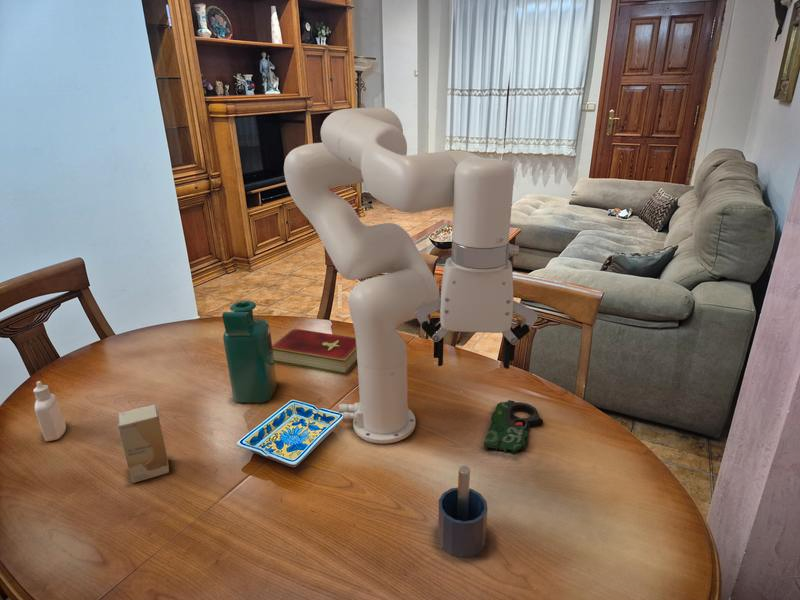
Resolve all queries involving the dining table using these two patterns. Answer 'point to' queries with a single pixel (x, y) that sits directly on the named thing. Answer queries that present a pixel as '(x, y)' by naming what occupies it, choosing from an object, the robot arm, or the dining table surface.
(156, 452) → the cosmetic box
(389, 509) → the dining table surface
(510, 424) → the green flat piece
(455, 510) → the pen cup
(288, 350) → the hardcover book
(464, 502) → the stylus
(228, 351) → the green bottle
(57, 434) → the eye dropper bottle
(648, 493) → the dining table surface
